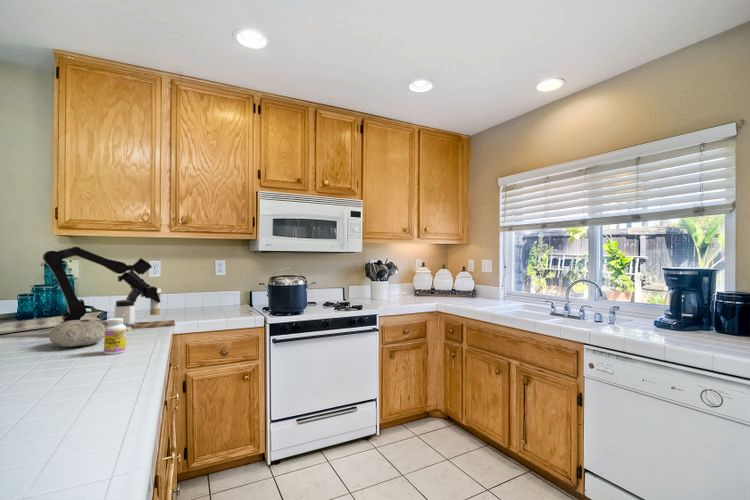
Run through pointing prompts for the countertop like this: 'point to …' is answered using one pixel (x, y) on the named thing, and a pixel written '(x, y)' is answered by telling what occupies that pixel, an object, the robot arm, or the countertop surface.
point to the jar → (125, 311)
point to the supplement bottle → (115, 337)
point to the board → (154, 324)
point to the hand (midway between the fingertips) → (158, 301)
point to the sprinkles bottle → (155, 305)
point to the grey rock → (77, 333)
